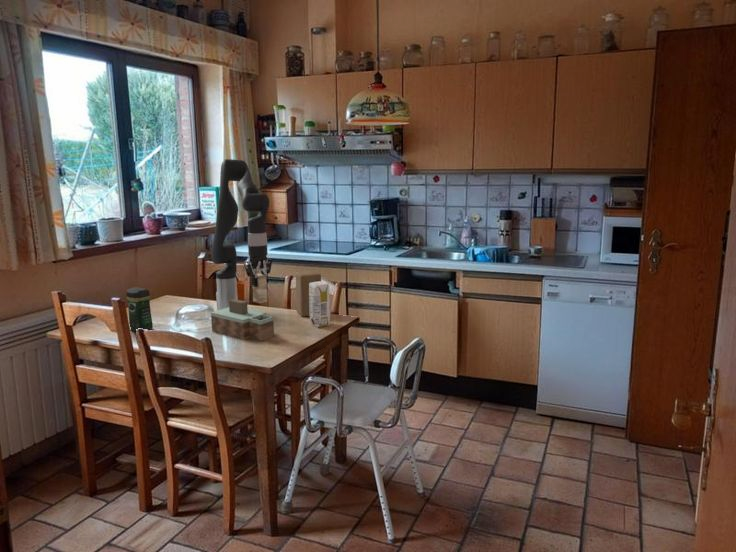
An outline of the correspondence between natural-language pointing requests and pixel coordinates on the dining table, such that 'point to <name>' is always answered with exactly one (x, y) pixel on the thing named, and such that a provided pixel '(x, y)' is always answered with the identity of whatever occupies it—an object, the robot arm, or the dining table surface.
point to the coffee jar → (139, 308)
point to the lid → (241, 313)
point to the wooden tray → (243, 329)
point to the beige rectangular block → (260, 289)
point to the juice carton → (319, 304)
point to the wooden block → (304, 290)
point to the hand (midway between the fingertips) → (259, 285)
